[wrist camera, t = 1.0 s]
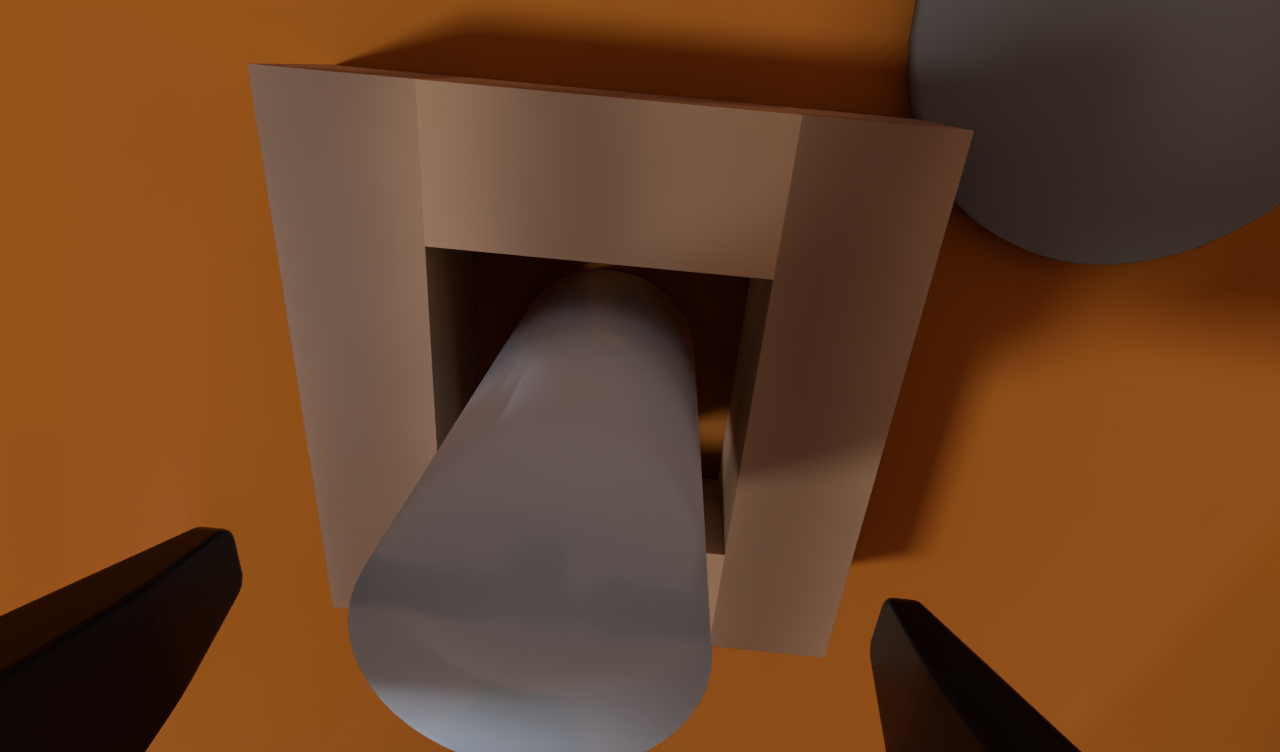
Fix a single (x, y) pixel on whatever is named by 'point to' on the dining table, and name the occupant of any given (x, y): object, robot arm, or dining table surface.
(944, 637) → the robot arm
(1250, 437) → the dining table surface
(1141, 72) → the coaster
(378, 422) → the frame
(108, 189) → the dining table surface
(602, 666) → the grey rounded cylinder
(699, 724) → the dining table surface
